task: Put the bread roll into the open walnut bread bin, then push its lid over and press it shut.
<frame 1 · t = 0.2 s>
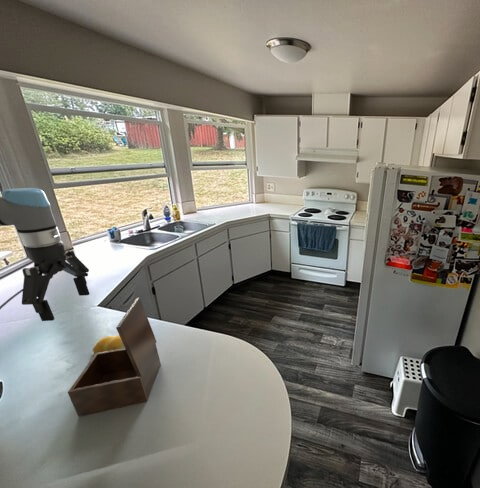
hand: (67, 306, 79), 19 cm above the table, tool pointing down, fingers open, 13 cm apart
bin lid: (138, 335, 70), point 18 cm above the table, hinge at 85.0°
bread bin: (124, 387, 74), on the table
bread roll: (111, 348, 88), on the table
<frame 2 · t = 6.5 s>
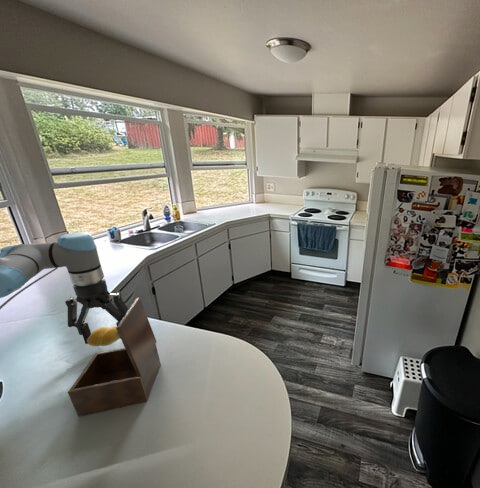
hand: (106, 338, 86), 4 cm above the table, tool pointing down, fingers closed on bread roll, 9 cm apart
bread roll: (106, 339, 86), point 4 cm above the table, touching gripper
everything else where it was.
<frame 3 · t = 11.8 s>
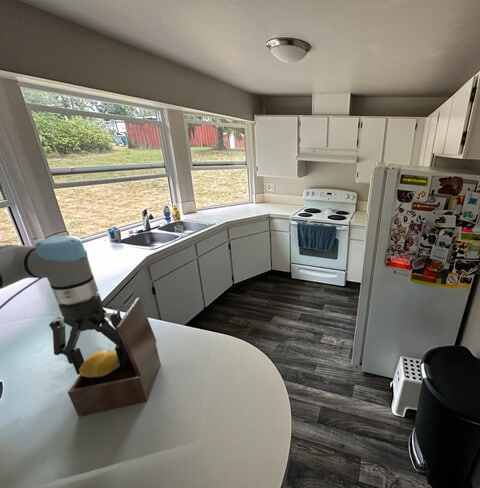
hand: (103, 366, 70), 9 cm above the table, tool pointing down, fingers closed on bread roll, 9 cm apart
bread roll: (103, 367, 70), point 9 cm above the table, touching bread bin, gripper
everything else where it was.
when the fingers open (9 cm above the table, at t = 12.2 s): bread roll drops 4 cm, resting on bread bin.
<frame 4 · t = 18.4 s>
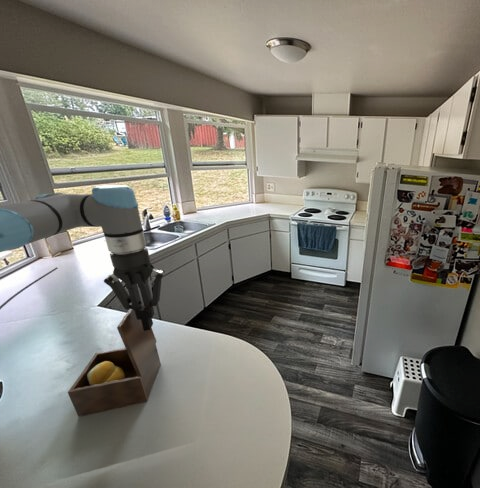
hand: (148, 327, 70), 20 cm above the table, tool pointing down, fingers closed
bin lid: (139, 335, 70), point 18 cm above the table, hinge at 85.5°, touching gripper
bread roll: (102, 380, 71), point 4 cm above the table, touching bread bin
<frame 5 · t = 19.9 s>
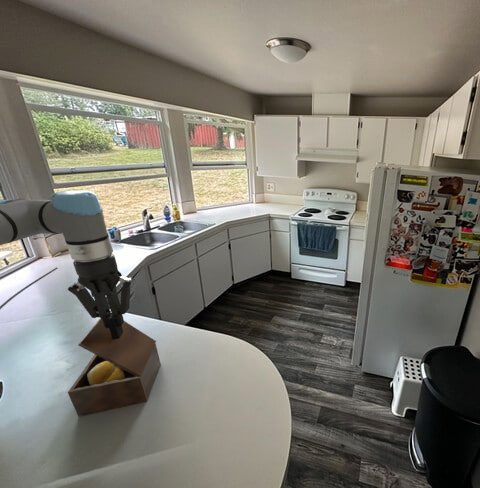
hand: (118, 335, 68), 19 cm above the table, tool pointing down, fingers closed
bin lid: (122, 342, 69), point 16 cm above the table, hinge at 53.7°
everything else where it was.
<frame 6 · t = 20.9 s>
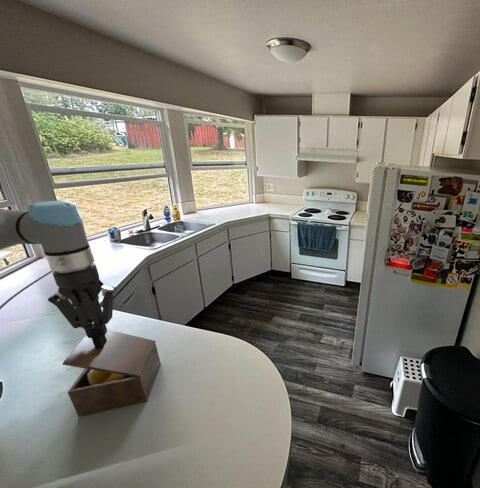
hand: (101, 345, 68), 16 cm above the table, tool pointing down, fingers closed
bin lid: (115, 351, 69), point 14 cm above the table, hinge at 31.3°, touching gripper
everything else where it was.
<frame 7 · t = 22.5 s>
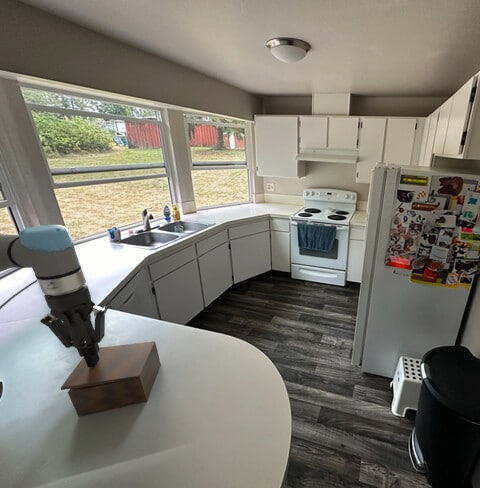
hand: (93, 363, 69), 11 cm above the table, tool pointing down, fingers closed
bin lid: (113, 362, 70), point 10 cm above the table, hinge at 3.7°, touching gripper
everything else where it was.
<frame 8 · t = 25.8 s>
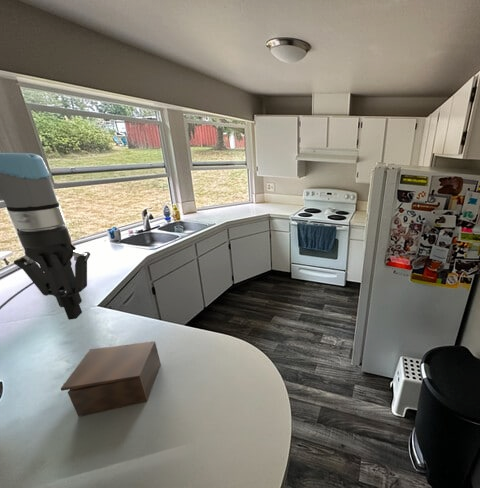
hand: (75, 315, 63), 26 cm above the table, tool pointing down, fingers closed
bin lid: (113, 362, 70), point 10 cm above the table, hinge at 2.8°, touching bread roll
bread roll: (102, 380, 71), point 4 cm above the table, touching bin lid, bread bin
at the end: bread roll inside the target area in the bread bin (4.4 cm from its centre), point 4.3 cm above the bread bin's base; bin lid at +3° (first picture: +85°) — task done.
